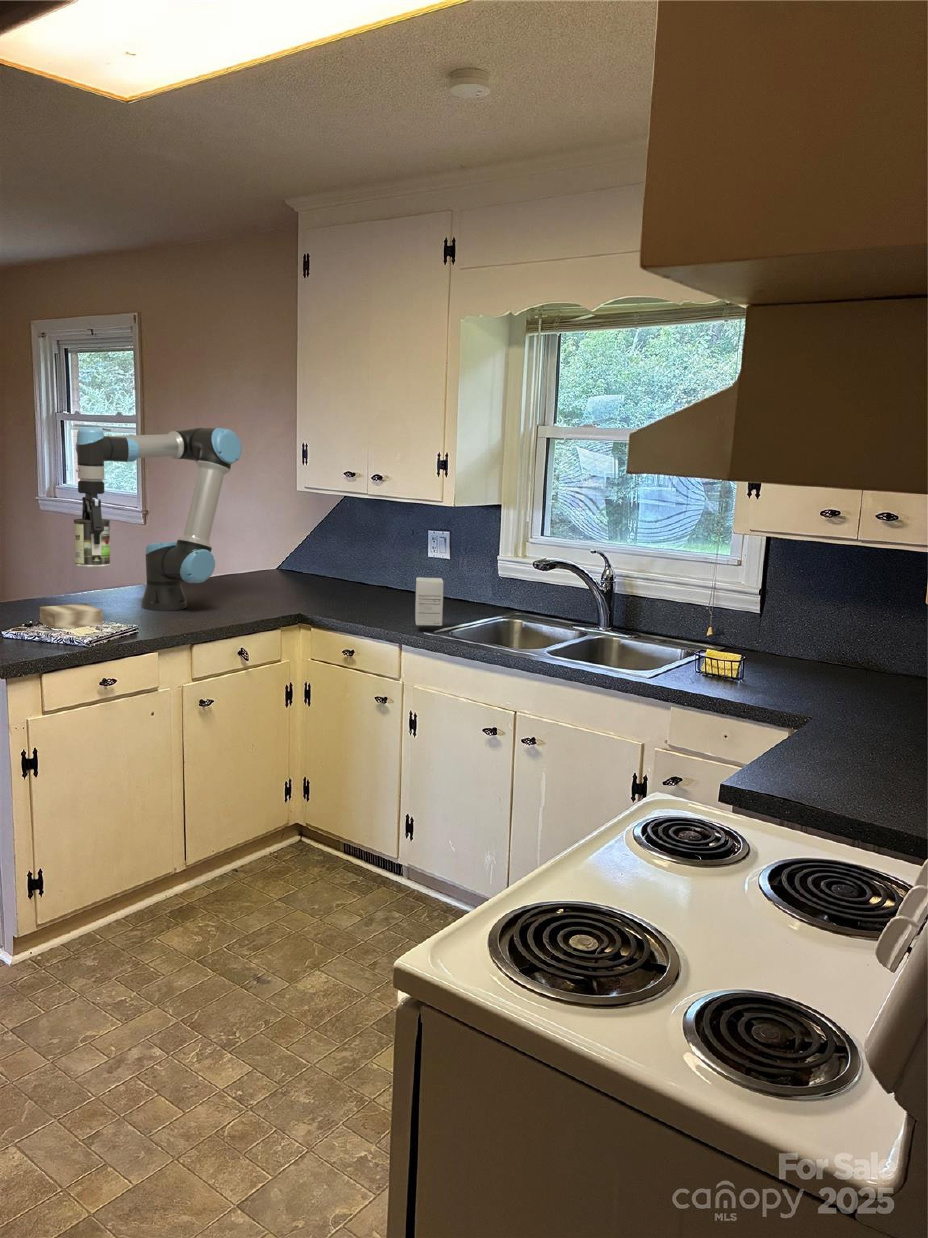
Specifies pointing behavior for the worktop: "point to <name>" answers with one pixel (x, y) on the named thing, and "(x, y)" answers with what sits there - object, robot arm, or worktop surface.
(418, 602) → the supplement box
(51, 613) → the birch block
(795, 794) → the worktop surface
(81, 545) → the coffee can
